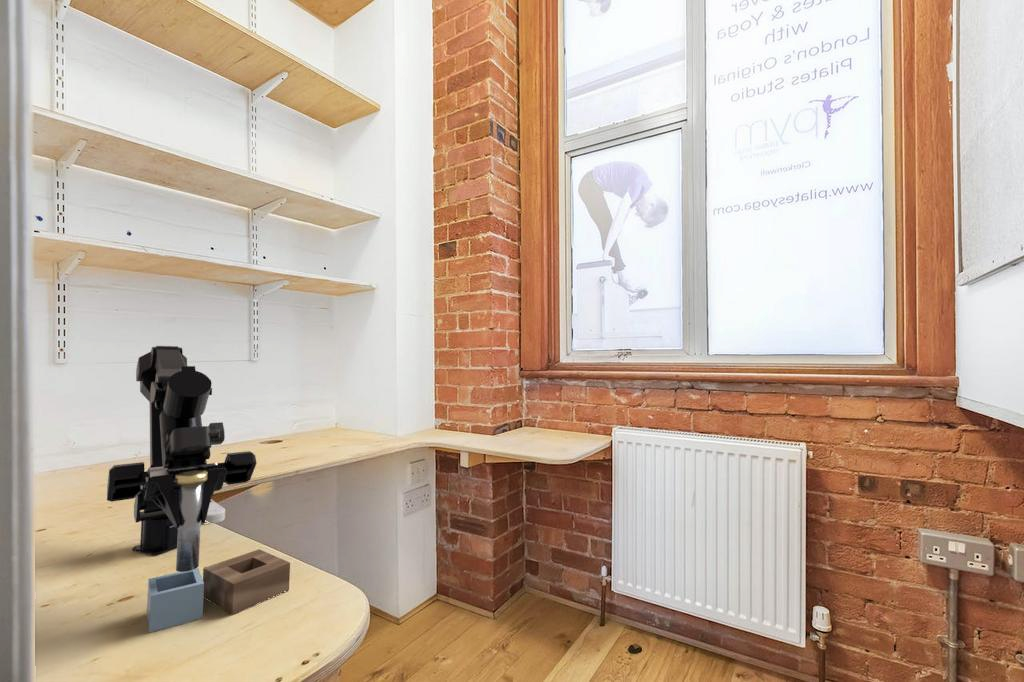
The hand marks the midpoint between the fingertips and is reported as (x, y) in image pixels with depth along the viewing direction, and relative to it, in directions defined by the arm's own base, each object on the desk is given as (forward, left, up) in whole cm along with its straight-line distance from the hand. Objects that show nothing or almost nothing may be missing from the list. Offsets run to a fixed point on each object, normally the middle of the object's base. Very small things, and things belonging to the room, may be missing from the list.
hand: (191, 524), depth 70 cm
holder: (-2, 0, -13) cm, 13 cm away
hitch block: (+3, +8, -13) cm, 16 cm away
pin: (-1, +1, -7) cm, 7 cm away
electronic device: (-35, +33, -14) cm, 51 cm away
